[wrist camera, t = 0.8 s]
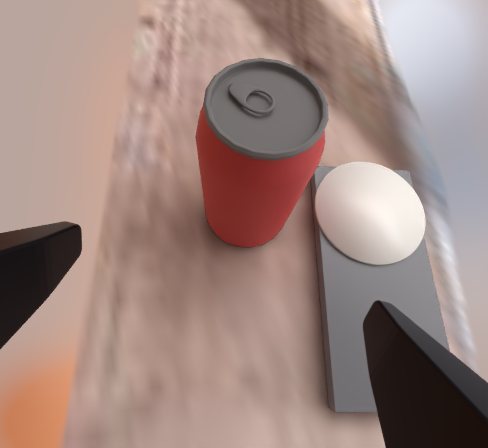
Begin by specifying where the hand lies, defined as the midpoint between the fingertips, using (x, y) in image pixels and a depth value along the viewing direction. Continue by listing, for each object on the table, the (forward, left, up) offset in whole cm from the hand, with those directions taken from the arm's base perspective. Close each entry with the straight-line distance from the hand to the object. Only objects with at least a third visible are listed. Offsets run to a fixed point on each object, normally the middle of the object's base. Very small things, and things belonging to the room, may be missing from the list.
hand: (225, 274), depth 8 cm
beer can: (+8, -2, -13) cm, 16 cm away
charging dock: (+3, -12, -13) cm, 18 cm away
